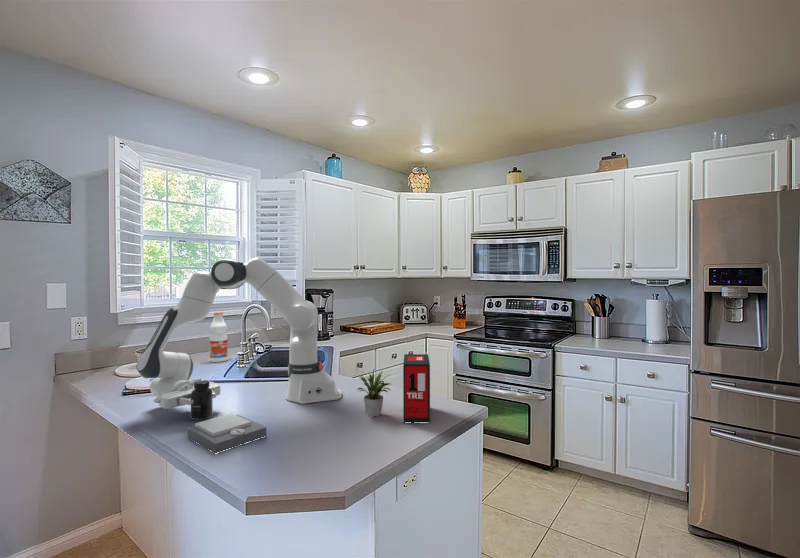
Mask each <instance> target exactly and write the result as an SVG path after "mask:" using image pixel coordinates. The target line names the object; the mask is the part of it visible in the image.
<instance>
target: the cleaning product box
mask: <svg viewBox="0 0 800 558" xmlns="http://www.w3.org/2000/svg"><path fill="white" fill-rule="evenodd" d="M429 358H430V357H429V354H426V353H424V354H423V353H422V354H421V353H420V354H419V353H417V354H416V353H413V354H412V353H411V354H408V353H405V354H404V355H403V363H402V366H403V369H402V370H403V372H402V375H403V376H402V377H403V378H402V379H403V380H402V381H403V382H402V383H403V387H402V388H403V390H402V391H403V404H402V405H403V424H406V423H405V422H411V423H410V424H415V423H414V422H430V423H431V364H430V359H429Z"/></svg>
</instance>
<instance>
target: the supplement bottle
mask: <svg viewBox="0 0 800 558" xmlns="http://www.w3.org/2000/svg"><path fill="white" fill-rule="evenodd" d="M209 382H210V380H206V379H205V380H201V381H196V382H195V383H194V390H193V391H192V392H191V398H192V399H194V401H193V402H194V404H191V405H190V418H191V419H193V420H204V419H208V418H210V417H211V416H212V415H213V412H214V411H213V407H214V406H213V401H214V398H213V392H212V389H210V388H209V387H210V385H209Z"/></svg>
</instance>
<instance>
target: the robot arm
mask: <svg viewBox="0 0 800 558" xmlns="http://www.w3.org/2000/svg"><path fill="white" fill-rule="evenodd" d="M245 283H247V284H248V285H250V286H251V287H253V288H254V290H256V291H257V292H258V293H259V294H260V295H261V297H263V298H264V299H265V300H266V301H267V302H269V304H271V305H272V307H273V308H274V309H275V310H276V311H277V312H278V314H279V315H280V316H281V317H282V318H283V320H284V321H285V322H286V323H287V325H289V327H290V335H289V346H288V348H289V352H288V353H289V354H288V355H289V356H288V357H289V358H288V359H289V362H288V365H287V374H288V385H287V391H286V395H285V399H286V401H289V402H294V403H298V404H302V405H303V404H304V405H305V404H312V403H320V402H328V401H337V400H339V399H341V398H342V396H343V393H342V390H341V389H340V388H337V384H336V380H335V379H334V377H332V376H331V375H329V373H326V372H325V371H323V369H324V365H323V363H322V362H321V361H319V360H318V324H319V323H318V322H319V321H318V319H319V311H318V308H317V306H316V305H315V303H313V302H311V301H309V300H306V299H305V298H304V297H303V296H302V295H301V294H300V293H299V292H298V290H297V289H296V288H295V287H294V286H293V285H292V283H290V282H289V281H288V280H287V279H286V278H285V277H284V276H283V275H282V274H281V273H280V272H279V270H276V268H275V267H273V266H272V265H271V264H269V263H268V262H267V261H265V260H263V259H262V258H260V257H254V258H251V259H249V260H248V261H246V262H245V263H243V262H241V261H237V260H234V259H232V258H231V259H230V258H223V259H220V260H217V261H216V262H215V263H214V264H213V265H212V267H211V269H210V271H205V270H200V271H196V272H194V273H192V275H191V277H190V279H189V280H188V282H187V284H186V286H185V288H184V291H183V293H182V296H181V299H180V300H179V301H178V303H177V304H176V305H175V306H174V307H172V308H169V309H168V310H167V311H166V313H164V316H163V317H162V318H161V320H160V322H159V325H158V326H157V328H156V329H155V332H154V333H153V335H152V336H151V338H150V341H149V342H148V344H147V346H146V348H145V349H144V350H143V351H142V353H141V354H140V356H139V358H138V359H137V362H136V370H137V372H138V373H139V375H140V376H141V377H143V378H144V379H153V380H152V381H151V382H150V386H149V389H150V392H151V394H152V395H153V396H154V397H155V399H153V402H154V403H156V404H158V406H159V407H160V408H162V409H164V410H170V409H174V408H177V407H181V406H186V405H188V406H191V404H194V402H193V401H194V399H192V398H191V392H192V391H193V390H194V383H195V382H196V381H201V380H206V379H204V378H197V379H190V378H191V377H192V375H193V371H194V362H193V359H192V357H191V356H190V355H189V354H188V353H185V352H174V351H164V349H165V347H166V345H167V342H168V341H169V339H170V337H171V335H172V333H173V332H174V331H175V330H176V329H177V328H179V327H182V326H184V325H188V324H194V323H198V322H200V321H202V320H204V319H205V318H207V317H208V315H209V314H210V313H211V310H212V306H213V303H214V300H215V298H216V295H217V293H218V291H220V290H236V289H239V288H240V287H241V286H243V285H244V284H245ZM209 385H210V387H209V388H210V389H212V392H213V399H216V398H217V396H219V395H220V394H221V385H220V384H219V383H217V382H213V381H209Z"/></svg>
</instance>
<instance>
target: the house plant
mask: <svg viewBox="0 0 800 558" xmlns="http://www.w3.org/2000/svg"><path fill="white" fill-rule="evenodd" d="M383 372H384V370H381V371H380V372H379V373H378V374H377V376H375V369H372V372H371V373H372V374H371V373H370V372H368V375H369V376H368V375H367V374H365V372H361V373H362V374H360V373H359V374H358V375H357V377H358V378H360V380H362V382H363V385H364V386H365V387H366V388H367V390H366V389H365V388H363V387H358V388H357V389H356V391H357V393H358V392H366V393H367V394H366V395H364V396H363V403H364V407H365V415H366V414H367V415H368V416H367V415H366V416H367V417H370V416H376V417H380V416H381V415H380V414H382V410H383V409H382V408H383V403H384V402H383V401H384V396H383V395H381V393H382V392H385V393H388V390H389V391H390V392H392V390H391V389H390V388H389V387H386V386H389V385H391V383H390V382H384V380H386V379H387V377H389V376H390V374H387V375H386V376H384V377H383V378H382V374H383ZM363 374H365V376H366V378H367V379H366V378H365V377H364V376H363ZM351 376H355V377H356V375H351ZM367 380H368V381H367ZM379 415H380V416H379Z"/></svg>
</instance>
